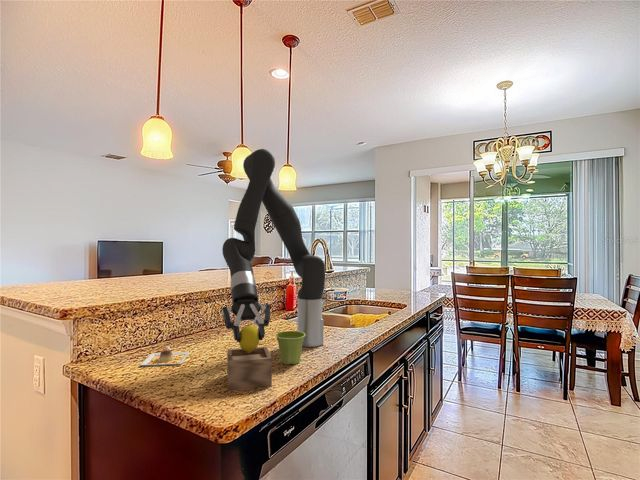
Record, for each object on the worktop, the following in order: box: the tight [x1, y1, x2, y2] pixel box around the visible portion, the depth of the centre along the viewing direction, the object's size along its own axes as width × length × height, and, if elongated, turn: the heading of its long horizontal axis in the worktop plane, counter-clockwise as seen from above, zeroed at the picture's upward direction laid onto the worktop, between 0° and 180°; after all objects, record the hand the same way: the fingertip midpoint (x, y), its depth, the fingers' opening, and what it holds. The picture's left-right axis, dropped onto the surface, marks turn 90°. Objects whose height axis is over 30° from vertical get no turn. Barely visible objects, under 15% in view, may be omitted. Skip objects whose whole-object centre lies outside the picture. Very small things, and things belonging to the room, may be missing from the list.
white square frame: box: [139, 345, 190, 367], centre depth 111 cm, size 12×12×5 cm
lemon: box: [238, 323, 260, 353], centre depth 95 cm, size 6×6×8 cm
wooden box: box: [226, 346, 273, 392], centre depth 95 cm, size 11×11×8 cm
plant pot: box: [275, 330, 305, 365], centre depth 110 cm, size 9×9×9 cm
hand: (250, 339), depth 93 cm, fingers closed on lemon, 5 cm apart
